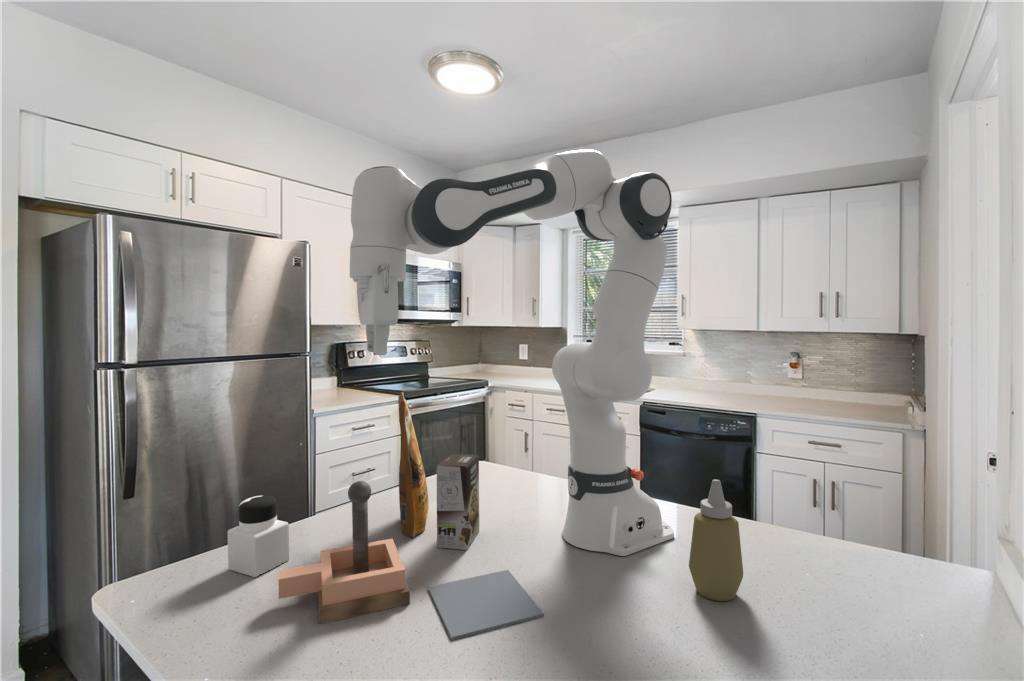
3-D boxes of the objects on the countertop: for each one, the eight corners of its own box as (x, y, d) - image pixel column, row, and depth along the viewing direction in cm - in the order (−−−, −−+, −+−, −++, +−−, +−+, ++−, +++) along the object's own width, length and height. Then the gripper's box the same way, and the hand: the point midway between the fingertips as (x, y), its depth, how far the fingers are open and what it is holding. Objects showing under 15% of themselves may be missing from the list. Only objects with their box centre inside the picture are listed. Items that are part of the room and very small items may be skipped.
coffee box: (468, 550, 94) (467, 466, 93) (435, 548, 95) (434, 464, 94) (480, 530, 103) (480, 453, 102) (451, 528, 104) (450, 452, 103)
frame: (392, 555, 88) (392, 538, 88) (405, 588, 77) (405, 569, 77) (281, 575, 81) (280, 557, 81) (277, 615, 70) (276, 594, 70)
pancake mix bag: (390, 542, 97) (388, 401, 96) (401, 507, 116) (400, 388, 115) (424, 541, 98) (422, 400, 97) (430, 505, 117) (429, 388, 116)
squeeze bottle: (718, 612, 73) (719, 492, 73) (677, 586, 80) (678, 477, 80) (754, 598, 77) (756, 483, 76) (712, 574, 84) (713, 470, 84)
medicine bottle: (290, 560, 90) (288, 495, 90) (255, 578, 84) (253, 508, 83) (263, 552, 93) (261, 490, 93) (227, 570, 87) (225, 502, 86)
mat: (507, 572, 86) (507, 569, 86) (543, 616, 73) (543, 613, 73) (428, 589, 80) (428, 586, 80) (451, 640, 67) (451, 637, 67)
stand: (394, 563, 89) (393, 465, 88) (409, 603, 76) (408, 489, 75) (317, 577, 84) (315, 474, 83) (319, 623, 71) (316, 501, 70)
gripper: (409, 263, 72) (407, 357, 72) (388, 275, 91) (386, 350, 91) (365, 259, 70) (362, 357, 70) (352, 273, 89) (350, 350, 89)
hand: (376, 353), depth 81 cm, fingers open, 8 cm apart
